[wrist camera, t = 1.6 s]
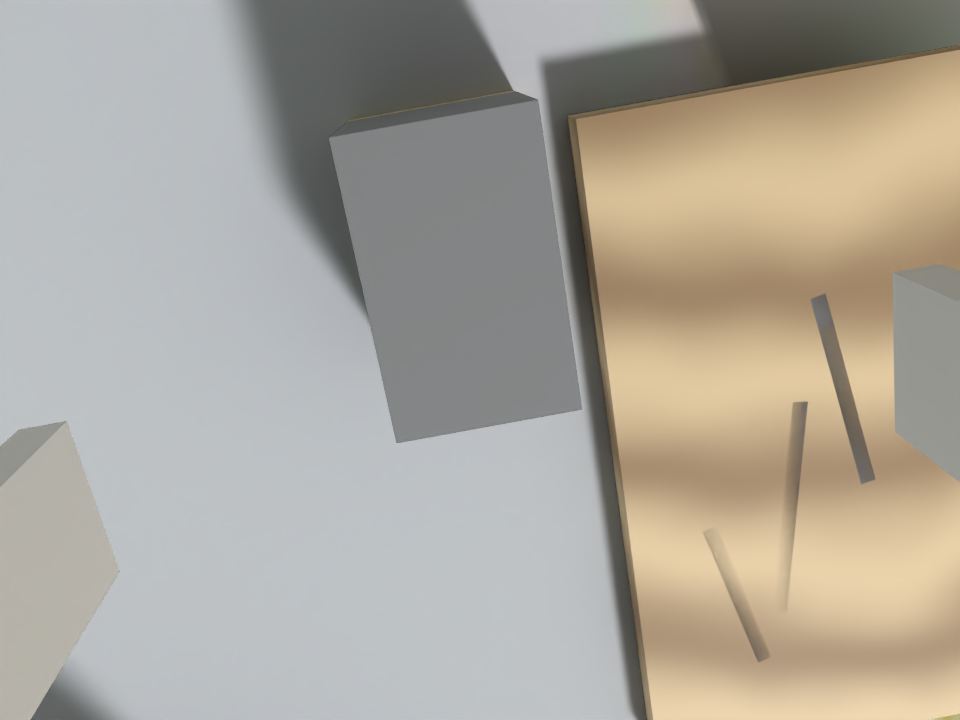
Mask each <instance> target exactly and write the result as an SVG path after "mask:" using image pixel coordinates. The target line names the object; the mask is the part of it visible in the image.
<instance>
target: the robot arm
mask: <svg viewBox="0 0 960 720" xmlns="http://www.w3.org/2000/svg"><path fill="white" fill-rule="evenodd" d="M893 337H894V402H895V432H896V433H897V434H899V435H900V436H901V437H902V438H904V439H905V440H906V441H907V442H909V443H910V444H911V445H913V446H914V447H915V448H916V449H918V450H919V451H920V452H921V453H923V454H924V455H925V456H927V457H928V458H929V459H930V460H932V461H933V462H934V463H935V464H937V465H938V466H939V467H941V468H942V469H943V470H944V471H946V472H947V473H948V474H950V475H951V476H952V477H953V478H955V479H956V480H957V481H958V482H960V271H958V270H955V269H953V268H950V267H948V266H945V265H943V264H936V265H931V266H925V267H920V268H914V269H909V270H903V271H898V272H893ZM119 572H120V571H119V568H118V565H117V562H116V559H115V557H114V554H113V551H112V548H111V545H110V542H109V540H108V537H107V534H106V531H105V528H104V525H103V522H102V520H101V517H100V514H99V511H98V508H97V505H96V503H95V500H94V497H93V494H92V491H91V488H90V486H89V483H88V480H87V477H86V474H85V471H84V469H83V466H82V463H81V460H80V457H79V454H78V452H77V449H76V446H75V443H74V440H73V437H72V435H71V432H70V429H69V426H68V423H67V421H65V422H59V423H54V424H48V425H43V426H37V427H32V428H26V429H20V430H18V431H17V432H16V433H14V434H13V435H12V436H11V437H10V438H9V439H8V440H7V441H6V442H4V443H3V444H2V445H1V446H0V720H31V718H32V717H33V715H34V713H35V712H36V710H37V708H38V707H39V705H40V703H41V702H42V700H43V698H44V697H45V695H46V693H47V692H48V690H49V688H50V687H51V685H52V683H53V682H54V680H55V678H56V677H57V675H58V673H59V672H60V670H61V668H62V667H63V665H64V663H65V662H66V660H67V658H68V657H69V655H70V653H71V652H72V650H73V648H74V647H75V645H76V643H77V642H78V640H79V638H80V637H81V635H82V633H83V632H84V630H85V628H86V627H87V625H88V623H89V622H90V620H91V619H92V617H93V615H94V614H95V612H96V610H97V609H98V607H99V605H100V604H101V602H102V600H103V599H104V597H105V595H106V594H107V592H108V590H109V589H110V587H111V585H112V584H113V582H114V580H115V579H116V577H117V575H118V574H119Z"/></svg>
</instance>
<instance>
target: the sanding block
mask: <svg viewBox="0 0 960 720" xmlns="http://www.w3.org/2000/svg"><path fill="white" fill-rule="evenodd" d="M329 141H330V146H331V150H332V155H333V160H334V164H335V169H336V173H337V178H338V182H339V187H340V191H341V196H342V200H343V205H344V209H345V214H346V218H347V223H348V227H349V232H350V236H351V241H352V245H353V250H354V254H355V259H356V263H357V268H358V272H359V277H360V281H361V286H362V290H363V295H364V299H365V304H366V308H367V313H368V317H369V322H370V326H371V331H372V335H373V340H374V344H375V349H376V353H377V358H378V362H379V367H380V371H381V376H382V380H383V385H384V389H385V394H386V398H387V403H388V407H389V412H390V416H391V421H392V425H393V430H394V434H395V439H396V443H401V442H406V441H412V440H417V439H423V438H428V437H434V436H439V435H445V434H450V433H456V432H461V431H467V430H472V429H478V428H483V427H489V426H494V425H500V424H505V423H511V422H516V421H522V420H527V419H533V418H538V417H544V416H549V415H555V414H560V413H566V412H571V411H577V410H582V405H581V398H580V391H579V384H578V377H577V370H576V363H575V356H574V349H573V342H572V335H571V328H570V321H569V314H568V307H567V300H566V292H565V285H564V278H563V271H562V264H561V257H560V250H559V243H558V236H557V229H556V222H555V215H554V208H553V201H552V194H551V187H550V180H549V173H548V165H547V158H546V151H545V144H544V137H543V130H542V123H541V116H540V109H539V102H538V100H537V99H535V98H532V97H529V96H527V95H524V94H521V93H519V92H516V91H508V92H502V93H497V94H491V95H486V96H480V97H475V98H469V99H464V100H458V101H452V102H447V103H441V104H436V105H430V106H425V107H419V108H414V109H408V110H403V111H397V112H392V113H386V114H381V115H375V116H370V117H364V118H358V119H353V120H348V121H347V122H346V123H345V124H344V125H343V126H341V127H340V128H339V129H338V130H337V131H336V132H335V133H333V134H332V135H331V136H330V137H329Z"/></svg>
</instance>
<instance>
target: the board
mask: <svg viewBox="0 0 960 720" xmlns="http://www.w3.org/2000/svg"><path fill="white" fill-rule="evenodd" d="M568 123H569V130H570V138H571V146H572V153H573V161H574V168H575V176H576V184H577V191H578V199H579V206H580V214H581V222H582V229H583V237H584V244H585V252H586V260H587V267H588V275H589V282H590V290H591V297H592V305H593V313H594V320H595V328H596V335H597V343H598V351H599V358H600V366H601V373H602V381H603V389H604V396H605V404H606V411H607V419H608V427H609V434H610V442H611V449H612V457H613V465H614V472H615V480H616V487H617V495H618V503H619V510H620V518H621V525H622V533H623V541H624V548H625V556H626V563H627V571H628V578H629V586H630V594H631V601H632V609H633V616H634V624H635V632H636V639H637V647H638V654H639V662H640V670H641V677H642V685H643V692H644V700H645V708H646V715H647V720H928V719H933V718H939V717H944V716H950V715H955V714H960V482H958V481H957V480H956V479H955V478H953V477H952V476H951V475H950V474H948V473H947V472H946V471H944V470H943V469H942V468H941V467H939V466H938V465H937V464H935V463H934V462H933V461H932V460H930V459H929V458H928V457H927V456H925V455H924V454H923V453H921V452H920V451H919V450H918V449H916V448H915V447H914V446H913V445H911V444H910V443H909V442H907V441H906V440H905V439H904V438H902V437H901V436H900V435H899V434H897V433H896V432H895V402H894V337H893V272H898V271H903V270H909V269H914V268H920V267H925V266H931V265H936V264H943V265H945V266H948V267H950V268H953V269H955V270H958V271H960V45H956V46H951V47H945V48H939V49H934V50H928V51H923V52H918V53H912V54H906V55H901V56H895V57H890V58H884V59H879V60H873V61H868V62H862V63H857V64H851V65H845V66H840V67H835V68H830V69H823V70H818V71H813V72H807V73H801V74H796V75H790V76H785V77H779V78H774V79H768V80H763V81H757V82H751V83H746V84H740V85H735V86H729V87H724V88H718V89H713V90H707V91H702V92H696V93H691V94H685V95H680V96H674V97H669V98H663V99H658V100H652V101H646V102H641V103H635V104H630V105H624V106H619V107H613V108H608V109H602V110H597V111H591V112H586V113H580V114H575V115H569V116H568Z"/></svg>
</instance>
